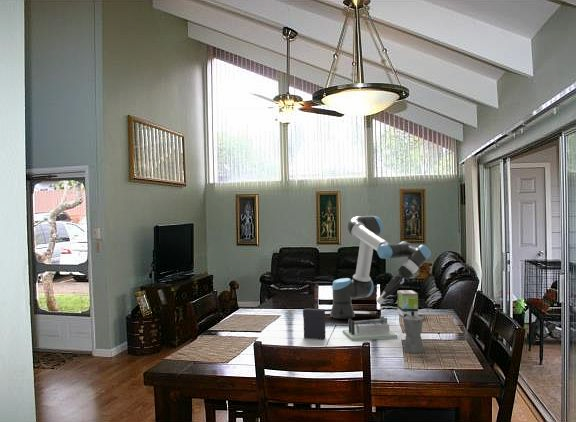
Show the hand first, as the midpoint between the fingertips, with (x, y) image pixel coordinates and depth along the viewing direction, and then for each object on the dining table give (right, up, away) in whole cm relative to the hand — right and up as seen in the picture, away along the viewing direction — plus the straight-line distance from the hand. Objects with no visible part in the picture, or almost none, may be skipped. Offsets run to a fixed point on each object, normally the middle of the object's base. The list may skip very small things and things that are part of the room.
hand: (378, 302), depth 257 cm
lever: (-5, -11, 0) cm, 12 cm away
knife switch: (-6, -16, -1) cm, 17 cm away
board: (-5, -17, 0) cm, 18 cm away
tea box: (+28, -18, +51) cm, 61 cm away
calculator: (-34, -18, -4) cm, 38 cm away
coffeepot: (+10, -16, -31) cm, 36 cm away
